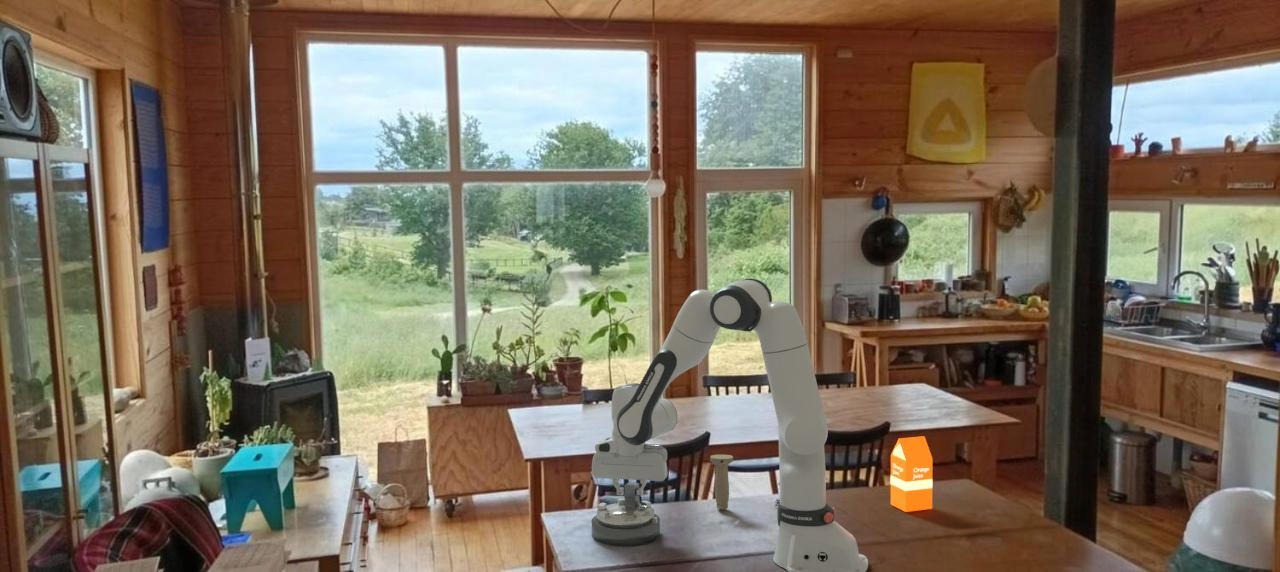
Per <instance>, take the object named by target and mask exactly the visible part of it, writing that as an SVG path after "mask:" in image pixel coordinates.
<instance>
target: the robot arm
mask: <svg viewBox="0 0 1280 572" xmlns="http://www.w3.org/2000/svg"><path fill="white" fill-rule="evenodd" d="M721 328H723V329H726V330H731V331H740V332H747V333H751V332H752V331H754V332H755V333H756V335H757V337H758V340H759V343H760V347H761V349H760V350H761V352H762V357H763V361H764V366H765V369H766V375H767V380H768V383H769V388H770V393H771V397H772V401H773V407H774V411H775V414H776V419H777V424H778V426H777V427H778V465H779V500H780V502H779V503H778V506H777V509H776V510H777V512H776V513H777V526H778V534H777V541H776V547H775V549H774V550H775V551H774V554H773V557H772V560H773V562H774V564H776V565H777V566H779V567H781V568H783V569H785V570H787V572H867V571H868V568H869V561H868V557H867V556H866V555H864V554H862V553H859V547H858V543H857V540H856V538H855V536H854V535H853V534H852V533H851V532H849V531H848V530H847V529H845V528H844V527H843V526H841V525H840V524H839V523H838V522H837V521H836V520H835V506H832V507H831V506H830V505H829V504H828V503H827V498H826V496H827V489H826V488H827V486H826V485H827V482H826V480H827V478H826V477H827V475H826V474H827V472H826V471H827V470H826V458H825V444H826V442H827V439H828V434H829V429H828V423H827V419H826V414H825V410H824V406H823V403H822V398H821V394H820V391H819V386H818V383H817V378H816V375H815V370H814V365H813V362H812V361H813V360H812V358H811V357H812V356H811V353H810V347H809V344H808V339H807V336H806V333H805V328H804V326H803V322H802V320H801V318H800V315H799V313H798V310H797V309H796V307H795V306H794V305H793V304H791V303H789V302H787V301H773V296H772V292H771V289H770V288H769V287H768V285H767V284H766V283H764V282H763V281H761V280H760V279H756V278H745V279H741V280H736V281H732V282H730V283H729V284H727V285H725V286H723V287H720V288H719V289H718V290H717V291H716V292H714V291H711V290H708V289H696V290H694V291H692V292H691V293H690V294H689V296H687V298H686V300H685V301H684V303H683V304H682V306H681V308H680V310H679V311H678V313H677V315H676V317H675V319H674V321H673V324H672V325H671V328H670V331H669V333H668V334H667V336H666V338H665V340H664V342H663V344H662V346H661V347H660V349H659V350H658V352H657V354H656V355H655V357H654V358H653V360H652V362H651V364H650V365H649V366H648V368H647V370H646V372H645V374H644V376H643V378H642V379H641V381H640V383H638V382H636V383H634V382H633V383H628V384H623V385H618V386H616V387H615V388H614V390H613V392H612V395H611V421H612V423H613V425H612V431H611V436H610V437H605V438H603V439H600V440H599V441H598V442H597V443H596V444H595V445H594V451H595V453H594V455H593V457H592V461H591V475H592V476H593V478H595V479H610V480H611V479H612V484H613V485H614V488H615V489H616V496H623V495H625V488H624V486H621V485H620V483H619V482H620V480H633V481H635V480H636V481H640V482H639V485H641V486H640V487H639V488H638V489H637V490H636V492H637V496H639V497H643V496H644V488H645V486H646V485H647V483H648V481H654V482H655V481H657V482H663V481H664V480H666V478H667V477H668V466H667V460H668V450H667V449H666V447H663V446H662V445H661V444H660V445H659V444H655V445H654V444H646V442H648V441H650V440H653V439H655V438H658V437H661V436H662V435H665V434H668V433H669V432H671V431H672V430H674V428H675V427H676V426H677V423H678V411H677V409H676V407H675V405H674V403H672V401H670V400H669V399H667V398H663V395H664V394H665V391H666V389H667V388H668V387H669V385H670V384H671V383H672V382H673V381H674V380H675V379H676V378H677V377H679V376H681V374H684V373H685V372H686V371H688V370H690V369H692V368H694V367H696V366H698V365H699V364H700V363H701V362H702V361H703V360H704V359H705V357H706V356H707V354H708V353H709V352H710V350H711V348H712V346H713V344H714V341H715V339H716V337H717V334H718V333H719V330H720V329H721Z"/></svg>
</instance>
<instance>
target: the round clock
mask: <svg viewBox="0 0 1280 572" xmlns="http://www.w3.org/2000/svg"><path fill="white" fill-rule="evenodd" d="M623 487H624V498H623V497H622V498H618V499H617V503H616V502H615V503H610V504H607V503H606V502H601V503H599V504H597V511H596V515H597V521H598V522H599V523H600V524H602V525H604V526H607V527H612V528H636V527H641V526H645V525H648V524H650V523H651V522H653V517H654V514H655V510H654V509H655V508H653V507H652V506H651V505H652V504H651V503H652V502H651V501H648V500H641V501H640V496H637V492H636V490H637V489H638V488H640V482H639V483H638V482H629V481H628V483H627V482H626V484H624V486H623Z"/></svg>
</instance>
